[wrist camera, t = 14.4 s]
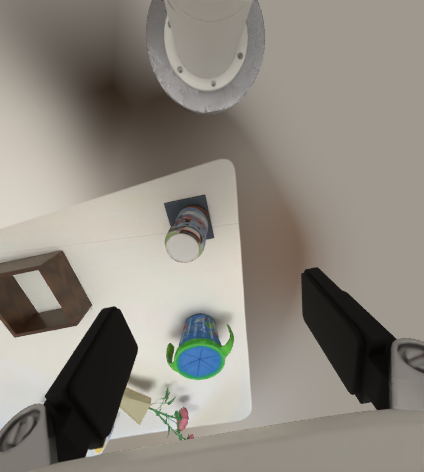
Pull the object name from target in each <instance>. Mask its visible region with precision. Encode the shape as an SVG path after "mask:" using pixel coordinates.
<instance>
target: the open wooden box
mask: <svg viewBox="0 0 424 472" xmlns="http://www.w3.org/2000/svg"><path fill="white" fill-rule="evenodd" d="M35 270H39V271H40V273H41V275H42V276H43V278H44V279H45V281H46V283H47V284H48V286H49V288H50V289H51V291H52V292H53V294H54V296H55V297H56V299H57V301H58V302H59V304H60V305H61V307H62V309H57V310H52V311H47V312H42V313H38V312H37V311H36V309H35V308H34V307H33V305H32V304H31V302H30V301H29V299H28V298H27V296H26V295H25V293H24V292H23V290H22V289H21V288H20V286H19V285H18V283H17V282H16V280H15V279H14V277H13V276H12V275H15V274H20V273H25V272H30V271H35ZM91 306H92V305H91V303H90V301H89V299H88V297H87V295H86V294H85V292H84V290H83V288H82V286H81V284H80V283H79V281H78V279H77V277H76V275H75V273H74V271H73V270H72V268H71V266H70V264H69V262H68V260H67V259H66V257H65V255H64V253H63V251H58V252H53V253H48V254H43V255H39V256H34V257H29V258H24V259H19V260H14V261H9V262H4V263H0V320H1V321H2V322H3V324H4V325H5V326H6V327H7V329H8V330H9V331H10V332H11V334H12V335H13V336H14V337H20V336H25V335H31V334H36V333H41V332H46V331H52V330H57V329H62V328H67V327H72V326H77V325H78V324H79V322H80V321H81V320H82V318H83V317H84V315H85V314H86V313H87V311H88V310H89V309H90V307H91Z"/></svg>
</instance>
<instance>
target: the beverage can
mask: <svg viewBox="0 0 424 472" xmlns="http://www.w3.org/2000/svg"><path fill="white" fill-rule="evenodd" d="M208 227H209V216H208V214H207V212H206V211H205V210H204V209H203V208H201V207H199V206H196V205H190V206H187V207H185V208H183V209H182V210H181V211H180V213H179V215H178V217H177V218H176V220H175V222H174V223H173V225H172V227H171V228H170V230H169V232H168V233H167V235H166V238H165V246H166V250H167V253H168V254H169V256H170V257H171V258H172V259H174V260H175V261H178V262H181V263H188V262H191V261H193V260H195V259H196V258H198V257H199V256H200V255H201V254H202V252H203V250H204V246H205V241H206V236H207V231H208Z"/></svg>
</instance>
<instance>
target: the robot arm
mask: <svg viewBox="0 0 424 472" xmlns="http://www.w3.org/2000/svg"><path fill="white" fill-rule="evenodd" d="M252 1H253V0H164V2H165V6H166V10H167V17H166V22H165V28H164V41H165V48H166V53H167V56H168V59H169V62H170V64H171V67H172V68H173V70H174V72H175V73H176V75H177V76H178V77H179V78H180V80H181V81H182V82H184V83H185V84H186V85H187V86H189V87H191V88H192V89H194V90H197V91H201V92H213V91H217V90H219V89H222V88H224V87H225V86H227V85H228V84H229V83H230V82H231V81H232V80H233V79H234V78H235V77H236V75H237V74H238V72H239V71H240V68H241V66H242V64H243V62H244V59H245V56H246V50H247V42H248V34H247V25H246V20H247V17H248V14H249V11H250V7H251V4H252ZM170 27H171V28H170ZM238 57H240V58H241V59H238ZM180 70H182V73H179V71H180ZM212 84H214V85H215V86H214V87H212ZM301 282H302V311H303V318H304V321H305V322H306V324H307V326H308V327H309V329H310V331H311V332H312V334H313V335H314V337H315V339H316V340H317V342H318V343H319V345H320V347H321V348H322V350H323V351H324V353H325V355H326V356H327V358H328V360H329V361H330V363H331V364H332V366H333V368H334V369H335V371H336V372H337V374H338V376H339V377H340V379H341V381H342V382H343V384H344V385H345V387H346V389H347V390H348V392H349V393H350V394H352V395H353V394H355V396H356V397H357V399H358V400H359V402H360V403H361V404H363V403H369V402H372V404H373V405H374V406H375V408H376V409H377V410H375V411H362V412H355V413H348V414H341V415H335V416H327V417H320V418H314V419H308V420H301V421H295V422H289V423H282V424H276V425H270V426H264V427H258V428H252V429H246V430H240V431H234V432H228V433H222V434H216V435H210V436H204V437H198V438H192V439H186V440H180V441H175V442H169V443H163V444H158V445H152V446H146V447H140V448H135V449H129V450H123V451H118V452H112V453H106V454H100V455H95V456H90V457H86V454H87V452H88V449H89V450H93V449H99V448H103V446H104V443H105V440H106V437H108V436H109V435H110V433H111V431H112V428H113V425H114V422H115V419H116V416H117V413H118V410H119V407H120V404H121V401H122V398H123V395H124V392H125V389H126V386H127V383H128V380H129V377H130V374H131V371H132V368H133V364H134V361H135V358H136V355H137V352H138V346H137V343H136V341H135V339H134V337H133V335H132V333H131V331H130V329H129V327H128V325H127V323H126V320H125V318H124V316H123V314H122V312H121V310H120V309H117V308H116V307H109V308H104V309H102V310H101V311H100V313H99V314H98V316H97V318H96V319H95V321H94V322H93V324H92V325H91V327H90V328H89V330H88V331H87V333H86V334H85V336H84V337H83V339H82V340H81V342H80V343H79V345H78V346H77V348H76V349H75V351H74V352H73V354H72V356H71V357H70V359H69V360H68V362H67V363H66V365H65V366H64V368H63V369H62V371H61V372H60V374H59V375H58V377H57V378H56V380H55V381H54V383H53V384H52V386H51V387H50V389H49V390H48V392H47V394H46V395H45V398H46V399H47V400H46V401H45V403H44V404H43V405H42V404H34V405H31V406H28V407H27V408H25V409H23V410H22V411H20V412H19V413H18V414H16V415H15V416H14V417H13V418H12V419H11V420H10V421H9V422H8V423H7V424H6V425H5V426H4V427H3V428H2V429H1V431H0V472H424V342H423V341H420V340H416V339H411V338H401V339H396V338H395V337H394V336H393V335H392V334H391V333H389V332H388V331H387V330H386V329H385V328H384V327H383V326H382V325H381V324H380V323H379V322H378V321H377V320H376V319H375V318H374V317H372V316H371V315H370V314H369V313H368V312H367V311H366V310H365V309H364V308H363V307H362V306H361V305H360V304H359V303H358V302H357V301H356V300H354V299H353V298H352V297H351V296H350V295H349V294H348V293H347V292H345V291H342V290H341V289H340V288H339V287H338V286H337V285H336V284H335V283H334V282H333V281H331V280H330V279H329V278H328V277H327V276H326V275H325V274H324V273H323V272H322V271H321V270H320V269H319V268H317V267H316V268H311V269H306V270H305V271H304V273H302V274H301Z"/></svg>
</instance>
